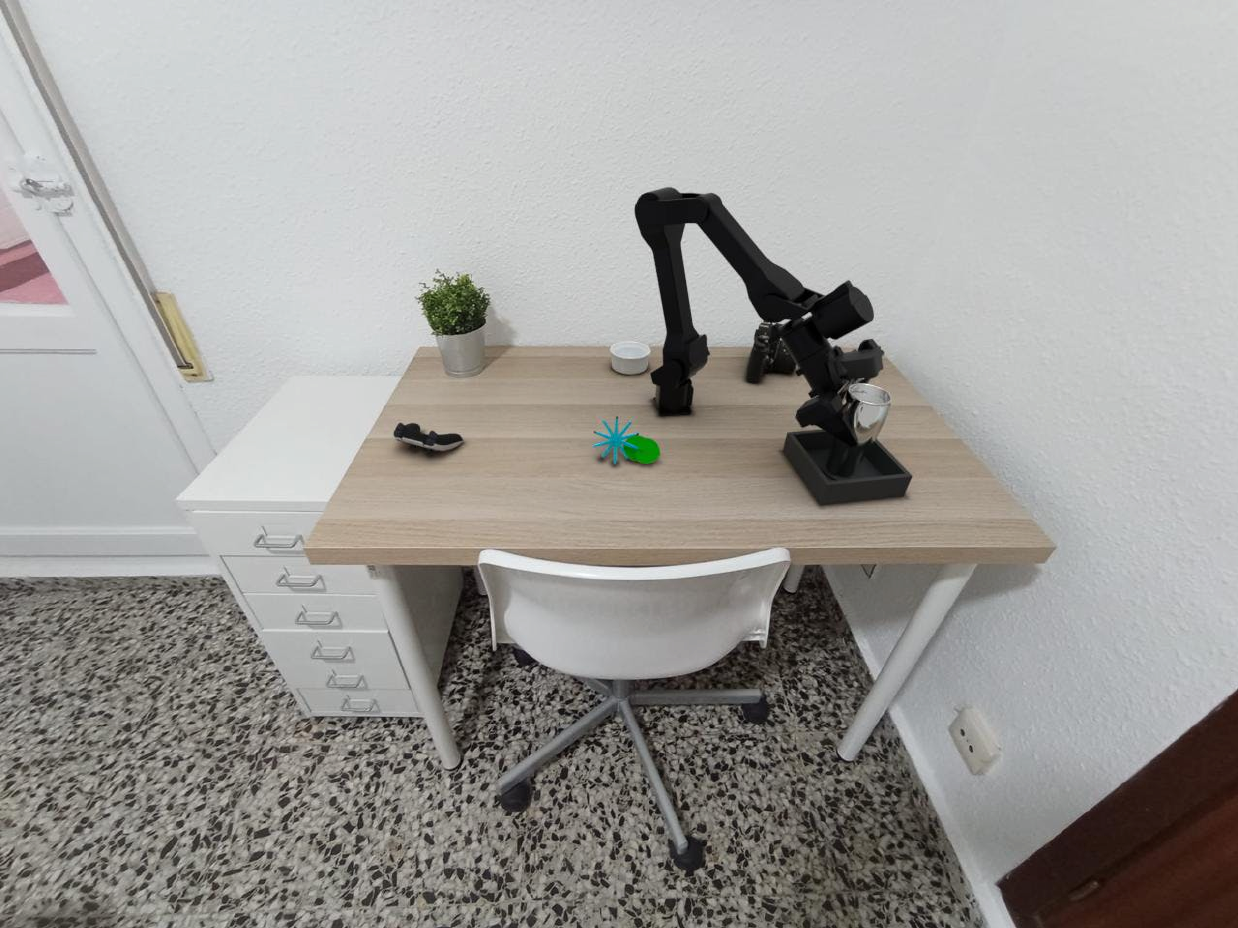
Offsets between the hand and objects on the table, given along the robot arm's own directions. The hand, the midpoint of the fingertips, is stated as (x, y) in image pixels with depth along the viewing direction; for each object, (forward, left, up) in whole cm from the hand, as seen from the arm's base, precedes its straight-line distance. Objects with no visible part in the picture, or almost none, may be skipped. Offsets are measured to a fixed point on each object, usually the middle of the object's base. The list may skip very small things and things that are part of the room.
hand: (862, 435), depth 88 cm
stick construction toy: (-36, +12, -8) cm, 39 cm away
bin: (-1, +1, -8) cm, 8 cm away
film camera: (+2, +39, -8) cm, 40 cm away
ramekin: (-29, +44, -8) cm, 53 cm away
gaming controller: (-70, +19, -8) cm, 73 cm away
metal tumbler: (-1, +1, -8) cm, 8 cm away
